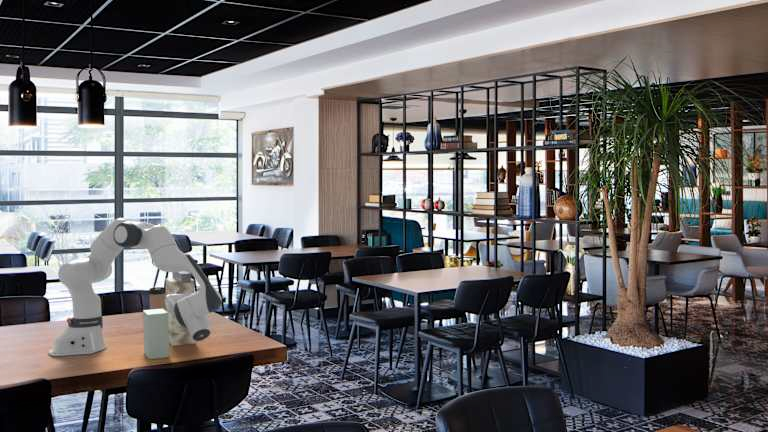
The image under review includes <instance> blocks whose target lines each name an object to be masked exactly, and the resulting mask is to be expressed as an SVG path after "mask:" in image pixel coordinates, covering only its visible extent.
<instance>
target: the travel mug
mask: <svg viewBox="0 0 768 432" xmlns="http://www.w3.org/2000/svg"><path fill="white" fill-rule="evenodd" d="M165 298H166V287H163V286H162V287H161V286H159V287H150V288H149V310H151V309H164V310H165V311H166V312H167V307H166V304H165Z"/></svg>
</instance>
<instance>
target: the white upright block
mask: <svg viewBox="0 0 768 432" xmlns="http://www.w3.org/2000/svg"><path fill="white" fill-rule="evenodd" d="M142 318H143V319H142V320H143V351H144V353H143V354H144V355H145V357H146V358H148V360H154V359H155V360H156V359H164V358H169V357H170V343H169V325H168V312H167V311H165V310H164V309H151V310H150V309H142Z"/></svg>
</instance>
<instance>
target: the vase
mask: <svg viewBox="0 0 768 432" xmlns="http://www.w3.org/2000/svg"><path fill="white" fill-rule="evenodd" d="M165 288H166V296H167V295H173V294H174V290H175V289H178V290H179V294H187V293H195V292H196V291H195V279H193V278H191V283H180V282H178V281H177V280H175V279H173V277H171V278H165ZM166 312H168V325H169V345H171V346H172V347H174V346H183V345H184V346H185V345H191V344H192V345H194V344H196V343H197V341H195V340H193V339H192V337H191V335H190V333H189V331H188V328H186V327H184V326H182V325H180V324H179V322H178V321H177V319H176V318H172V315H171V313H170V312H169V311H168V309H167V311H166Z"/></svg>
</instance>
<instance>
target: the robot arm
mask: <svg viewBox="0 0 768 432" xmlns="http://www.w3.org/2000/svg"><path fill="white" fill-rule="evenodd" d="M173 236H174V235H173V234H171V232H170V231H169V229H168V228H167V227H166V226H165V225H159V224H157V223H154V222H145V221H130V220H128V219H126V218H123V217H119V218H115V219H114V220H113V221H111V222H110V223H109V224H108V225H107V226H106V227H105V228H104V229H102V231H101V232H100V233H99V235H98V236H97V237H96V238H95V239H94V240H93V242H92V243H91V244H90V247H89V250H90V254H89V255H87V256H86V257H84V258H79V259H73V260H69V261H67V262H65V263H63V264H61V265H60V267H59V269H58V273H57V276H58V279H59V281H60V283H61V284H62V285H64V286H65V287H66V288H67V289H68V293H69V294H70V298H71V302H72V315H73V317H68V318H67V317H66V318H67V319H66V323H67V326H68V327H67V328H65V329H64V330H63V331H62V332H60V333H59V334H58V335H57V336H56V337H55V340H54V345H53V347H52V348H50V349H49V350H48V354H49V356H52V357H64V356H77V355H78V356H79V355H90V354H91V355H92V354H94V353H97V352H101V351H104V350H106V349H107V346H106V342H105V338H104V334H103V327H104V319H103V315H102V300H101V297H100V295H98V294H97V293H96V292H95V291H94V288H93V284H96V283H100V282H103V281H105V280H106V279H108V278H110V276H111V275H112V273H113V265H112V263H113V262H114V260H116V258H117V257H118V256H119V254H120V253H122V251H123V250H124V248H125V249H137V250H139V249H140V250H141V249H147V251H148V253H149V256H150V258H151V260H152V262H153V264H154V265H155V267H156V268H157V269H158V270H159V271H161V272H166V273H172V272H179V271H187V272H189V273H191V276H193V277H194V280H196V282H197V283H198V285H199V287H196V288H197V289H196V291H194V292H195V293H187V294H179V290H178V289H175V290H174V294H173V295H167V296H166V298H165V304H166V308H167V309H168V311H169V312H170V313H171V315H172V318H176V319H177V321H178V322H179V324H180V325H182V326H184V327H186V328H188V331H189V333H190V335H191V337H192V339H193V340H195V341H196V342H197V341H198V342H200V341H203V340H205V339H207V338H209V336H210V335H211V332H212V331H211V330H212V327H211V323H210V320H209V317H208V314H211V313H213V312H214V313H215V312H217V311H218V310H220V308H221V306H222V303H223V299H222V295H221V294H220V292H219V290H217V289H216V288H215V286H213V284H212V283H211V281H210V280H209V279H208V277H207V275H205V273H204V272H203V269H201V266H199V264H198V263H197V261H196V260H195V259H194V258H193V256H192V255H191V254H189V253H184V252H182V251H181V250H180V248H179V247H178V244H177V241H176V240H175V238H174V237H173Z"/></svg>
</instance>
